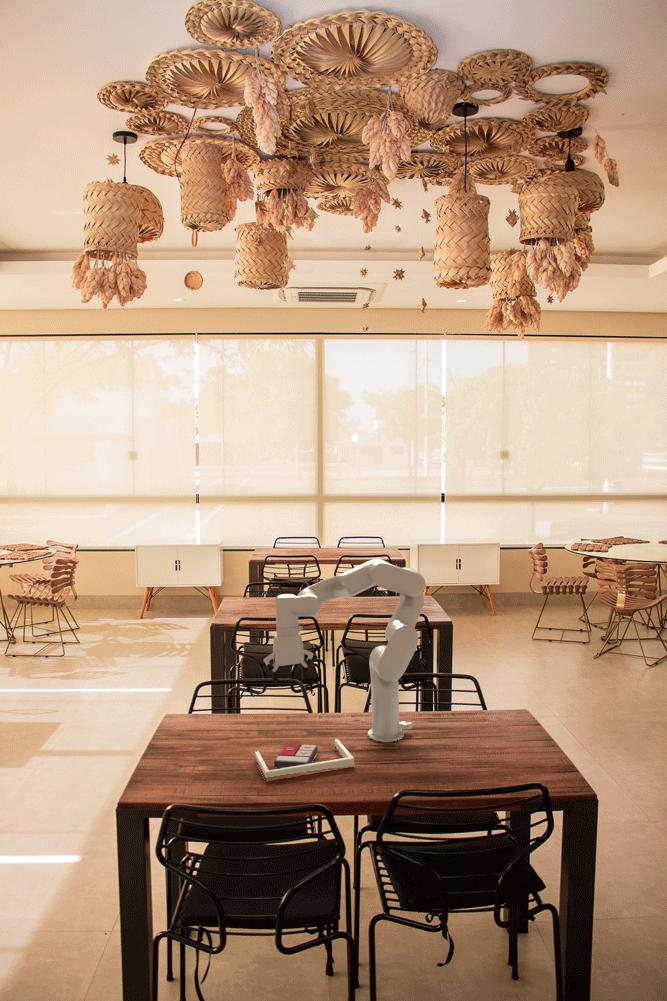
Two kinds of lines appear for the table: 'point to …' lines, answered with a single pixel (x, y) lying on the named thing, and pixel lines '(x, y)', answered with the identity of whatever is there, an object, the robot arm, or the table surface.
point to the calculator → (295, 755)
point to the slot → (342, 762)
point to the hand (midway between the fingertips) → (289, 680)
